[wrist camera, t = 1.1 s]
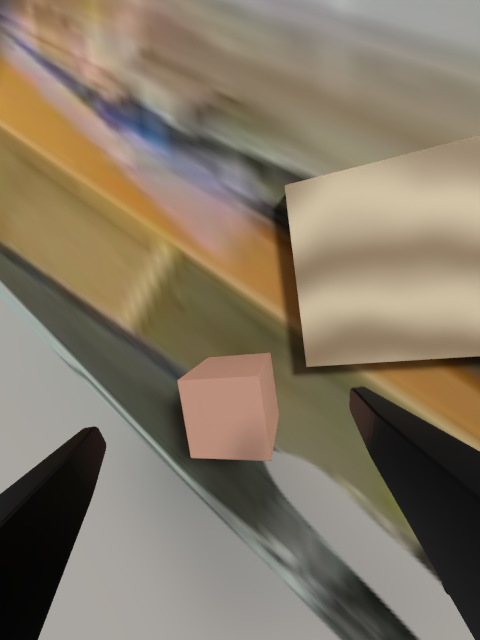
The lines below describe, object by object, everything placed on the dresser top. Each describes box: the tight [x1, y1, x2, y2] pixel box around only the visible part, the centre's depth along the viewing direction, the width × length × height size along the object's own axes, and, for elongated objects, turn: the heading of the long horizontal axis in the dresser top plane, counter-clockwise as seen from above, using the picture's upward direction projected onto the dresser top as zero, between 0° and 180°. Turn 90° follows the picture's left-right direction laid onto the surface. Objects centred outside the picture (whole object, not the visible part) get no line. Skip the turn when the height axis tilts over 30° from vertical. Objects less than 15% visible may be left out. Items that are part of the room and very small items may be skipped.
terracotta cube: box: [177, 353, 279, 461], centre depth 20 cm, size 6×6×6 cm
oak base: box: [285, 135, 480, 367], centre depth 18 cm, size 14×14×2 cm
